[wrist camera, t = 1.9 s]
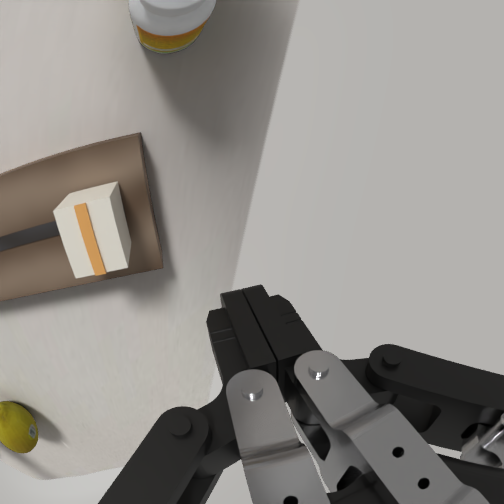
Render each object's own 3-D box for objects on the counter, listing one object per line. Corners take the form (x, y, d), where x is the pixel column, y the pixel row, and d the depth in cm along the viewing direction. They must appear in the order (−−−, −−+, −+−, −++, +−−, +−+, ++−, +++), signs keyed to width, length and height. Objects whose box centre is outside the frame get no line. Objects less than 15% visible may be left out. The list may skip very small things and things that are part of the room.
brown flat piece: (-62, 203, 16) (-78, 214, 13) (140, 132, 21) (137, 135, 19) (-27, 293, 21) (-38, 310, 18) (162, 251, 27) (163, 269, 24)
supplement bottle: (212, 37, 19) (245, -2, 11) (152, 66, 19) (148, 38, 11) (185, -10, 16) (203, -66, 8) (125, 17, 16) (108, -30, 8)
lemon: (45, 427, 33) (42, 466, 27) (8, 418, 30) (2, 455, 24) (31, 392, 29) (23, 437, 23) (-11, 380, 26) (-23, 422, 20)
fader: (69, 193, 19) (52, 212, 15) (117, 181, 20) (108, 197, 16) (86, 252, 21) (75, 279, 18) (131, 242, 22) (127, 269, 18)
